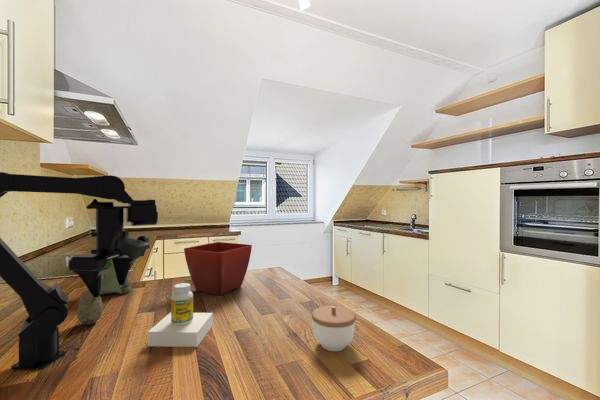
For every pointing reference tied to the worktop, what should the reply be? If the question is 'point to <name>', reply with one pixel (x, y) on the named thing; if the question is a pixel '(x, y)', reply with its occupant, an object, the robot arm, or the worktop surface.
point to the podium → (180, 331)
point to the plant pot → (218, 266)
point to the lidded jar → (333, 327)
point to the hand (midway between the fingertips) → (109, 290)
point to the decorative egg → (89, 308)
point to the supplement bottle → (181, 304)
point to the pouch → (112, 281)
